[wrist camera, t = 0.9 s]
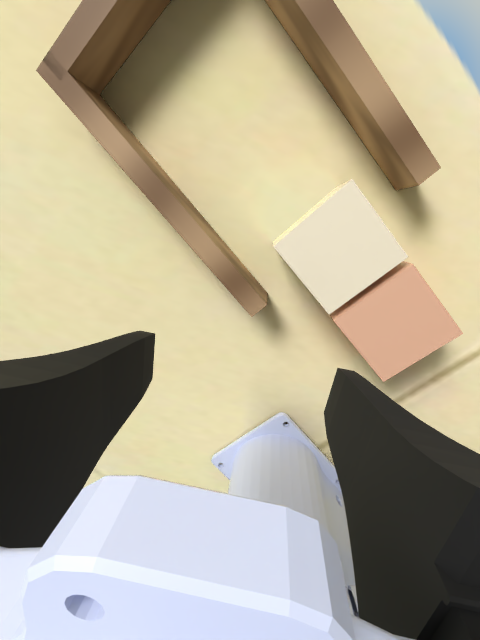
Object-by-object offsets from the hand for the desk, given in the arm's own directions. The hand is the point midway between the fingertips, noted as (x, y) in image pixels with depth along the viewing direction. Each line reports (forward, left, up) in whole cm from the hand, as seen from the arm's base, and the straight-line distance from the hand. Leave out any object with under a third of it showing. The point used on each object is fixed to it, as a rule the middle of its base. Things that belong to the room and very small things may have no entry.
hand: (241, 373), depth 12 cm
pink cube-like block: (-5, -6, -10) cm, 13 cm away
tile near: (0, -6, -10) cm, 12 cm away
